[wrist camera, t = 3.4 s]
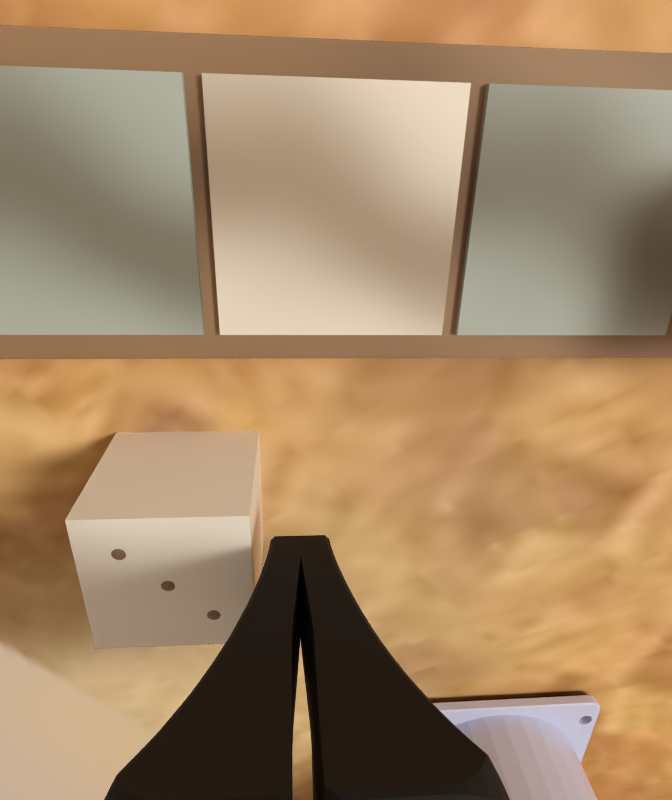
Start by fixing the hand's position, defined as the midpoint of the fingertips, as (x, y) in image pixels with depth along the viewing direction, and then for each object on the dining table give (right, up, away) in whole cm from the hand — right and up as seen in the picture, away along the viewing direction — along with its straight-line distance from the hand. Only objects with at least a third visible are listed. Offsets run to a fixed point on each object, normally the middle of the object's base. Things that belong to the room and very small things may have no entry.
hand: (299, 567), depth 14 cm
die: (-3, +1, +3) cm, 5 cm away
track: (+4, +9, 0) cm, 9 cm away
